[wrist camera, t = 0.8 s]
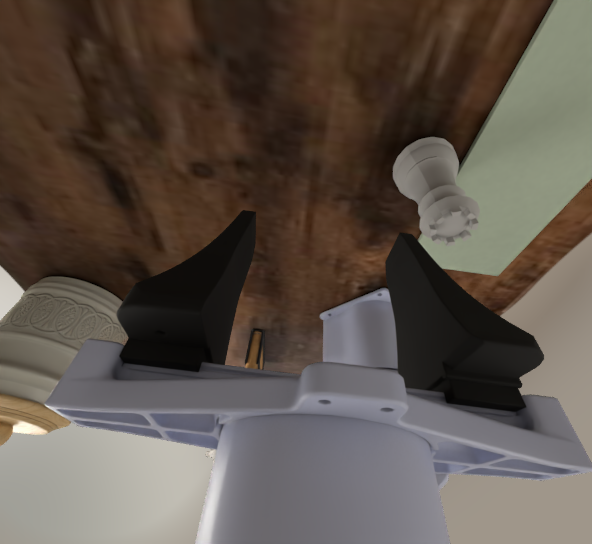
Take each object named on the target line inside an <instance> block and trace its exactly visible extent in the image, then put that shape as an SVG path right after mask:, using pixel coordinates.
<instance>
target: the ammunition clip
mask: <svg viewBox="0 0 592 544" xmlns="http://www.w3.org/2000/svg"><path fill="white" fill-rule="evenodd" d="M264 363H265V331H263V330H254V329H252V331H251V336H250V341H249V345H248V350H247V355H246V359H245V368H252V369H260V370H263V369H264Z"/></svg>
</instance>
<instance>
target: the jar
mask: <svg viewBox="0 0 592 544" xmlns="http://www.w3.org/2000/svg"><path fill="white" fill-rule="evenodd" d="M122 302H123V301H121V300H120V299H119V298H117V297H116V296H115V295H113V294H112V293H110V292H108V291H106V290H104V289H102V288H100V287H98V286H96V285H93V284H91V283H88V282H85V281H82V280H78V279H74V278H69V277H57V276H55V277H46V278H43V279H41V280H39V281H38V282H37V283H36V284H34V285H32V286H30V287H29V288H28V289H27V291H26V292H24V293H23V295H22V296H21V299H20V300H19V301H18V302H17V303H16V304H15V305H14V307H13V308H12V309H11V310H10V311H9V312H8V313H7V314H6V315H5V316H4V317H3V318H2V319H1V321H0V446H1V445H3V444H4V443H5V442H6V441H7V440H8V439H9V438H10V436H11V435H12V433H13V432H17V433H25V434H37V435H42V434H47V433H49V432H51V431H53V430H55V429H59V428H63V427H66V426H68V425H69V424H70V423H71V421H69V420H67V419H66V418H64V417H62V416H61V415H59V414H58V413H56V412H54V411H53V410H51V409H49V408H48V407H46V406H45V402H46V400H47V399H48V397H49V396H50V394H51V393H52V391H53V390H54V388H55V387H56V385H57V384H58V382H59V381H60V379H61V378H62V376H63V374H64V373H65V371H66V370H67V368H68V367H69V365H70V364H71V362H72V361H73V359H74V358H75V356H76V355H77V353H78V352H79V350H80V349H81V347H82V346H83V344H84V343H85V341H86V340H87V339H98V340H105V341H113V342H118V343H121V344H122V342H123V341H124V340H125V339H126V338H127V336H128V335H127V334H126V332H125V331H124V329H123V328H122V326H121V324H120V323H119V321H118V319H117V316H116V315H117V310H118V309H119V307H120V306H121V304H122Z"/></svg>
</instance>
